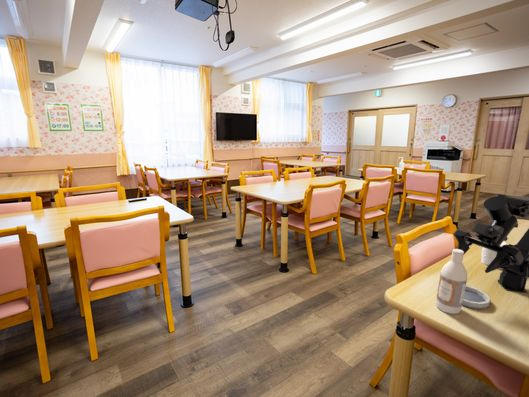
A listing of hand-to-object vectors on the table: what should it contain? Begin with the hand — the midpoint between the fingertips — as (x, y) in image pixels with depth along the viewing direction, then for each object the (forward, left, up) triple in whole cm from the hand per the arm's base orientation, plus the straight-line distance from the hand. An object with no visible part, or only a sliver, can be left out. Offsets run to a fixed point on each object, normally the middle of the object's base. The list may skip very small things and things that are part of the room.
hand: (470, 265), depth 92 cm
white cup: (-22, -37, -14) cm, 45 cm away
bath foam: (+6, +5, -14) cm, 16 cm away
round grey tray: (-2, -3, -13) cm, 14 cm away
